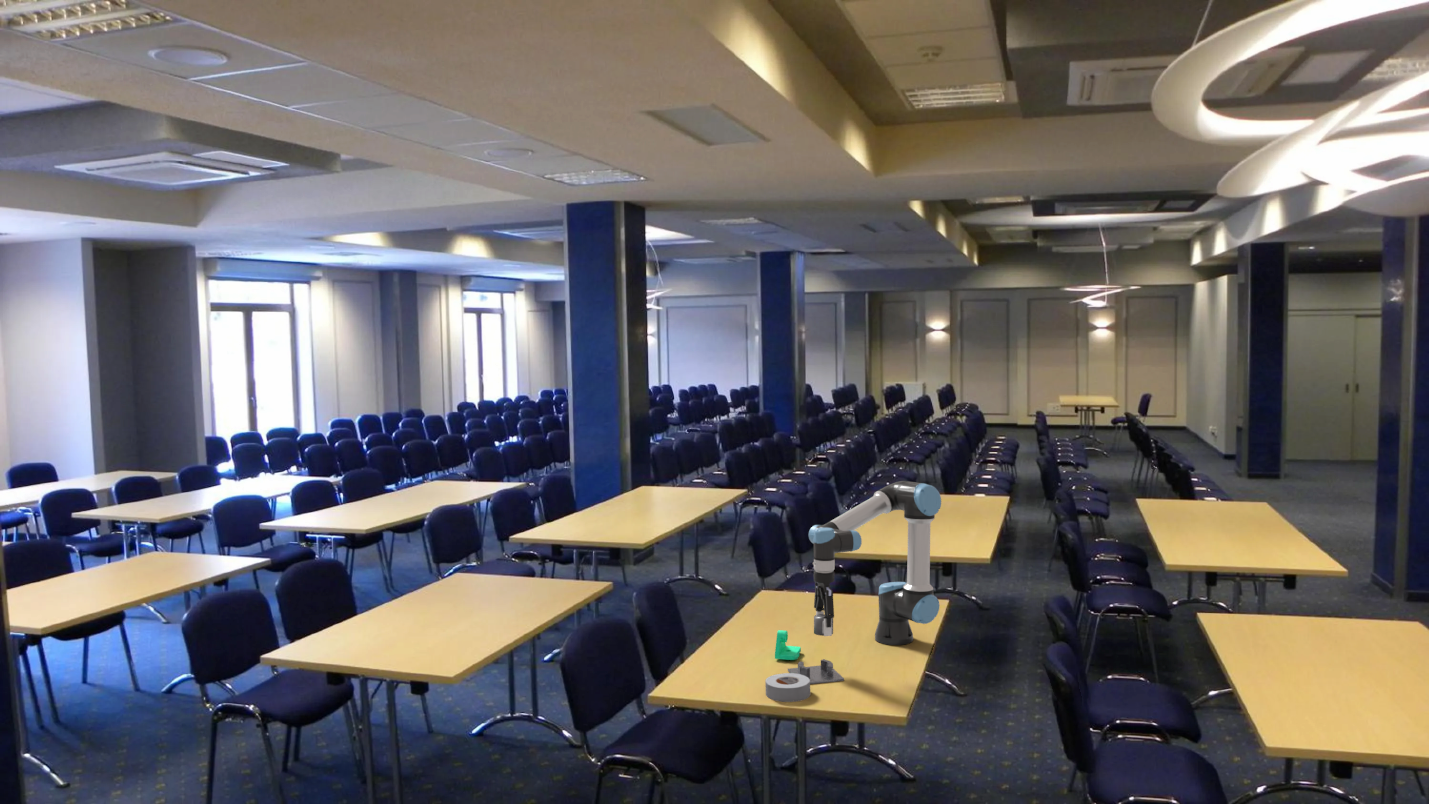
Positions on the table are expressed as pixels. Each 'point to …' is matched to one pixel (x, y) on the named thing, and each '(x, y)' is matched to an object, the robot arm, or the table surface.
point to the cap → (820, 625)
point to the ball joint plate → (818, 672)
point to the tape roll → (787, 687)
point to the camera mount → (785, 647)
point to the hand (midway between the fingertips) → (823, 632)
